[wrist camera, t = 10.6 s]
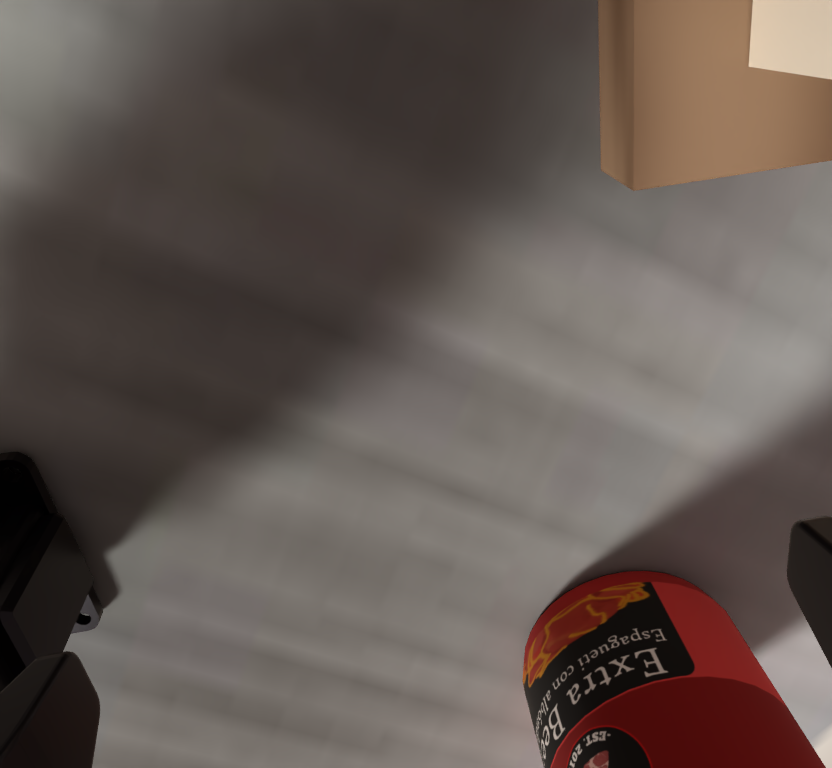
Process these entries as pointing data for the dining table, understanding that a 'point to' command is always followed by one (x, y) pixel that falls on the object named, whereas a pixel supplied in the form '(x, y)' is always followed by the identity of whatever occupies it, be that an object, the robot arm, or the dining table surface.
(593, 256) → the dining table surface
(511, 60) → the dining table surface
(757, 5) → the cream block
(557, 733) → the canned food
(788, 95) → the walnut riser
